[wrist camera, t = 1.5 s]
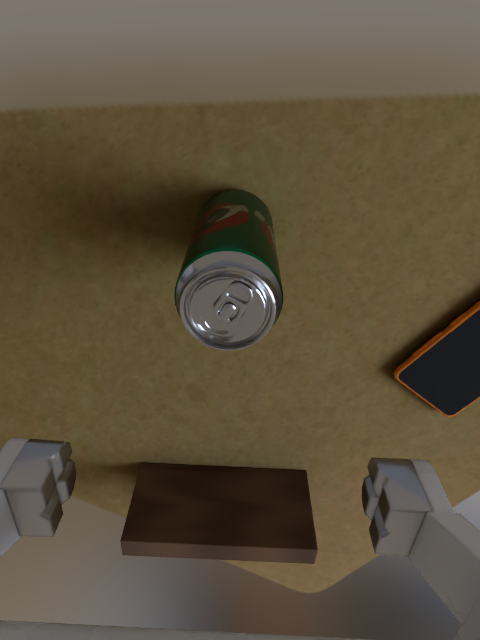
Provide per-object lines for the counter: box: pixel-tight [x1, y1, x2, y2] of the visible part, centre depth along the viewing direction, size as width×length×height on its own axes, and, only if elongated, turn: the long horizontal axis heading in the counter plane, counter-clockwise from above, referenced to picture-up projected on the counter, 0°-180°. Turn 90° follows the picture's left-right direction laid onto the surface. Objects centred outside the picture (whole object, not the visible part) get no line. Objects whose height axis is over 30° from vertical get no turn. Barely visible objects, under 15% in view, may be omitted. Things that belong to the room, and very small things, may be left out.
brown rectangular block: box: [121, 463, 318, 564], centre depth 40 cm, size 16×5×8 cm, turn 87°
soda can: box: [174, 190, 283, 351], centre depth 24 cm, size 5×5×12 cm
